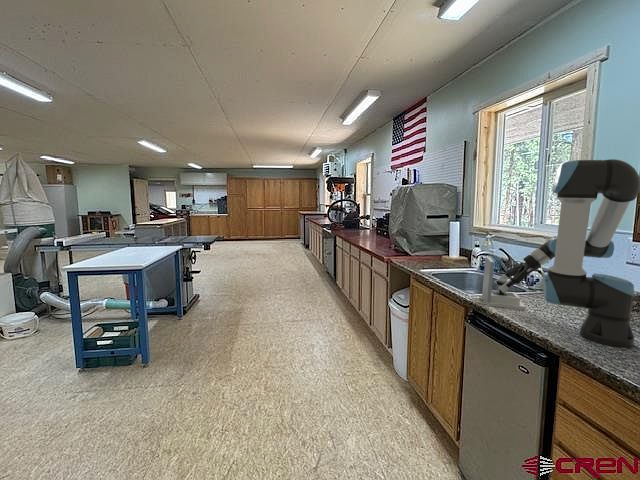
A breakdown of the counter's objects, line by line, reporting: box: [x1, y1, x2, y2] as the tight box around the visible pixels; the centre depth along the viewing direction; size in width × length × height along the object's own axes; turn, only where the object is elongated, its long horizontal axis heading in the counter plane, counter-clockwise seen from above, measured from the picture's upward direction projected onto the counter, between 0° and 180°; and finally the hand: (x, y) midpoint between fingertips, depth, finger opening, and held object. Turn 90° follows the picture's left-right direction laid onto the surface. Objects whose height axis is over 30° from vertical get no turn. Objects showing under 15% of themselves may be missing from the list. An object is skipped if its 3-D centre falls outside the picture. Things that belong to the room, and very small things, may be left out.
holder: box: [481, 256, 526, 311], centre depth 163 cm, size 18×16×22 cm
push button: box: [495, 278, 508, 296], centre depth 163 cm, size 7×5×10 cm
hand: (498, 287), depth 164 cm, fingers open, 13 cm apart
